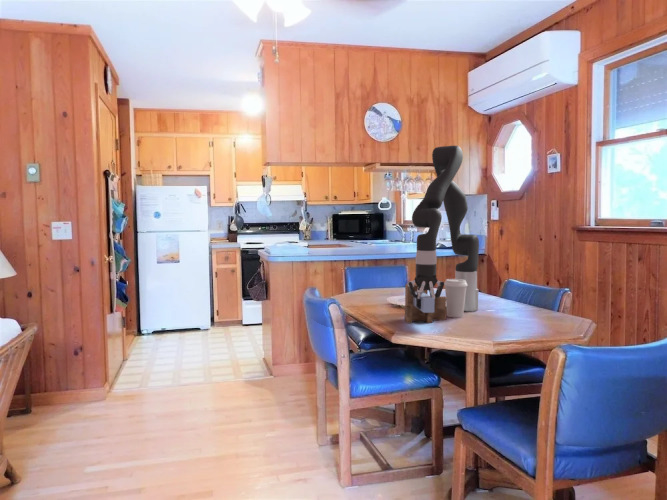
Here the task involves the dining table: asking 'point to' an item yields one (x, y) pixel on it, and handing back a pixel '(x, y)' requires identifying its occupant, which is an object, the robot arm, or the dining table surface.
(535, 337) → the dining table surface
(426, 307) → the grey rectangular bar
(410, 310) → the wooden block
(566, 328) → the dining table surface
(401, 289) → the dining table surface
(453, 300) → the coffee cup
